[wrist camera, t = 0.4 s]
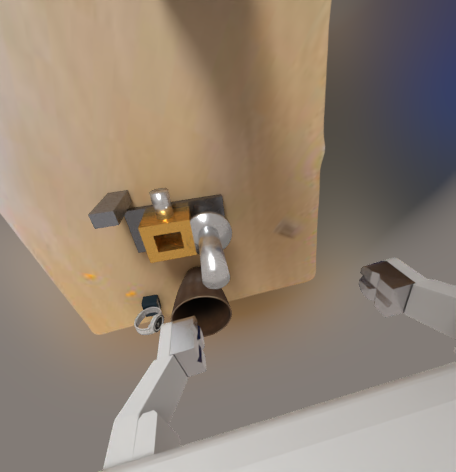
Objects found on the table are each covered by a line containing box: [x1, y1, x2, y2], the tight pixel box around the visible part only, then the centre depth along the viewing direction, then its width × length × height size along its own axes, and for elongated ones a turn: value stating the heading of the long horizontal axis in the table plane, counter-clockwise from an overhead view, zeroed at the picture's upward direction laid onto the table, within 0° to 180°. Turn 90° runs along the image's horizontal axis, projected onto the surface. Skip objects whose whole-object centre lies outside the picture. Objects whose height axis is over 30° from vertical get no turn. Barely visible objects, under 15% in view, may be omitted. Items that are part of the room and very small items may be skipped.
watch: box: [134, 295, 164, 335], centre depth 65 cm, size 6×8×11 cm
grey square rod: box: [88, 190, 132, 229], centre depth 46 cm, size 3×4×12 cm, turn 96°
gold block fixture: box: [124, 188, 232, 289], centre depth 46 cm, size 17×24×24 cm
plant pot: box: [171, 267, 232, 337], centre depth 61 cm, size 15×15×16 cm
